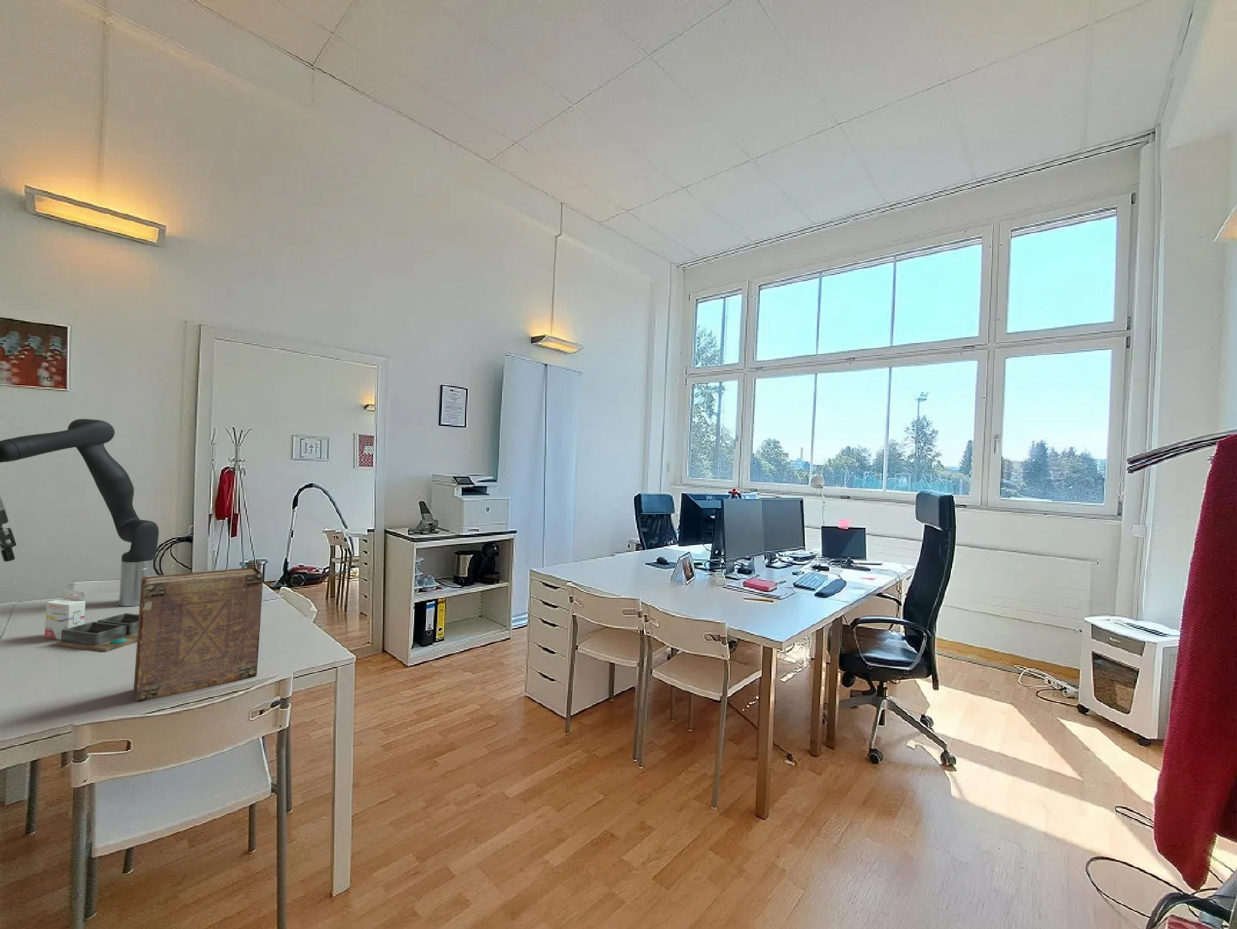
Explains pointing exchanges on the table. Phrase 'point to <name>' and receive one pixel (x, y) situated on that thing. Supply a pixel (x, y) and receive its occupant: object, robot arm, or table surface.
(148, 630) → the book
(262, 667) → the table surface
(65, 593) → the ink cartridge box
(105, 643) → the socket board
